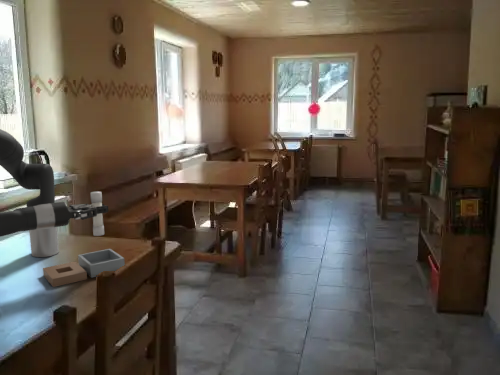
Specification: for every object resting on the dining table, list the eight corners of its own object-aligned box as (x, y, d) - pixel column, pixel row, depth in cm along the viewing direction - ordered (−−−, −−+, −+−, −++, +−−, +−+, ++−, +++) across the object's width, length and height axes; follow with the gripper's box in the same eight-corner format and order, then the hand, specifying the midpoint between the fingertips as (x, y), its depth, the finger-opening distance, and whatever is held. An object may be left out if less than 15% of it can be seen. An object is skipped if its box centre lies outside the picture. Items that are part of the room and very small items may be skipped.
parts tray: (79, 266, 155) (78, 255, 154) (111, 259, 162) (110, 248, 161) (91, 277, 145) (90, 265, 144) (125, 269, 151) (124, 258, 151)
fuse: (92, 234, 151) (89, 192, 149) (102, 232, 153) (99, 191, 151) (95, 236, 149) (92, 193, 146) (105, 234, 151) (103, 192, 148)
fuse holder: (43, 275, 147) (42, 268, 147) (75, 268, 153) (75, 261, 153) (53, 287, 138) (52, 279, 137) (87, 279, 144) (86, 271, 143)
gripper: (55, 207, 135) (113, 199, 145) (43, 200, 146) (98, 193, 156) (57, 232, 136) (114, 223, 146) (45, 223, 147) (99, 215, 157)
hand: (105, 207), depth 151 cm, fingers closed on fuse, 3 cm apart
